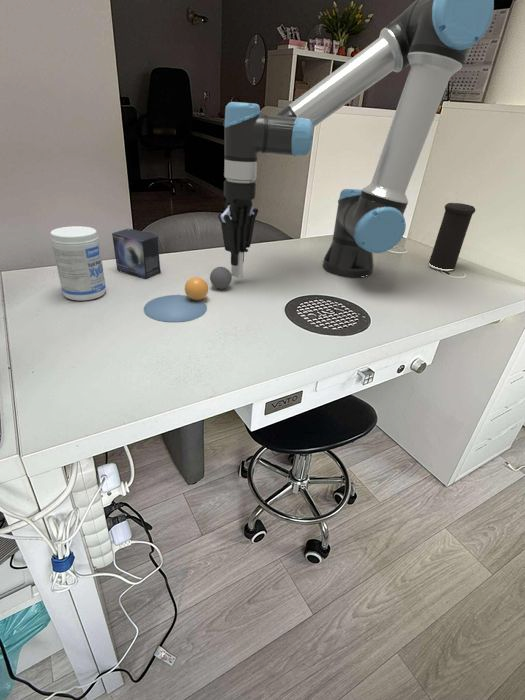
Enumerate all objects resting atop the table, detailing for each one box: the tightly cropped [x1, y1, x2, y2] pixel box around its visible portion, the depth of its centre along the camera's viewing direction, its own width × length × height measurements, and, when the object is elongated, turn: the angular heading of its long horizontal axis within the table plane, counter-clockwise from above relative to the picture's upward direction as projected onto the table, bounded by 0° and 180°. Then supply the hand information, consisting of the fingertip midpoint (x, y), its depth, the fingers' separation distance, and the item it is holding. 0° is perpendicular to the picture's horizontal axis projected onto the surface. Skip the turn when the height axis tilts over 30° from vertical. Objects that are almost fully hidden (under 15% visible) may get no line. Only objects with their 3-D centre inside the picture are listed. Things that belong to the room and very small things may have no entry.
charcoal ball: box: [209, 266, 233, 290], centre depth 99 cm, size 6×6×6 cm
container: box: [428, 202, 476, 270], centre depth 122 cm, size 9×9×20 cm
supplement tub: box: [50, 225, 107, 301], centre depth 88 cm, size 10×10×15 cm
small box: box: [111, 228, 162, 280], centre depth 104 cm, size 11×6×10 cm, turn 62°
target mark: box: [143, 294, 208, 323], centre depth 89 cm, size 14×14×1 cm
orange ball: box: [184, 276, 209, 300], centre depth 92 cm, size 6×6×6 cm
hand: (236, 275), depth 103 cm, fingers closed
